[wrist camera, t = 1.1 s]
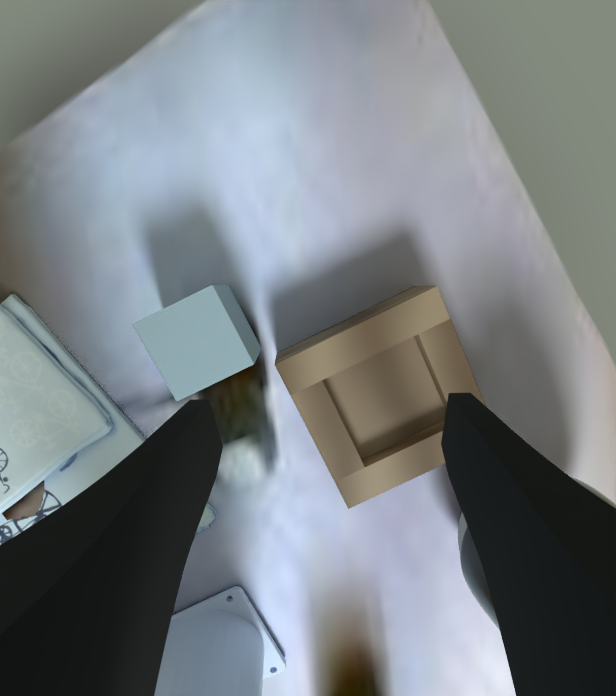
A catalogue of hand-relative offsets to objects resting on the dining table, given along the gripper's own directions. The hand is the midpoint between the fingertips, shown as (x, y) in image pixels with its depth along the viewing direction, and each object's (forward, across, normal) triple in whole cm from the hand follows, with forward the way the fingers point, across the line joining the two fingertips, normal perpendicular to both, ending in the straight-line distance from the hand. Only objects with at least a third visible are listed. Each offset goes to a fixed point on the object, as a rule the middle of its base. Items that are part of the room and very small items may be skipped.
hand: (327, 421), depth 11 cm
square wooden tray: (+11, -3, +7) cm, 14 cm away
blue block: (+12, +8, +3) cm, 14 cm away
